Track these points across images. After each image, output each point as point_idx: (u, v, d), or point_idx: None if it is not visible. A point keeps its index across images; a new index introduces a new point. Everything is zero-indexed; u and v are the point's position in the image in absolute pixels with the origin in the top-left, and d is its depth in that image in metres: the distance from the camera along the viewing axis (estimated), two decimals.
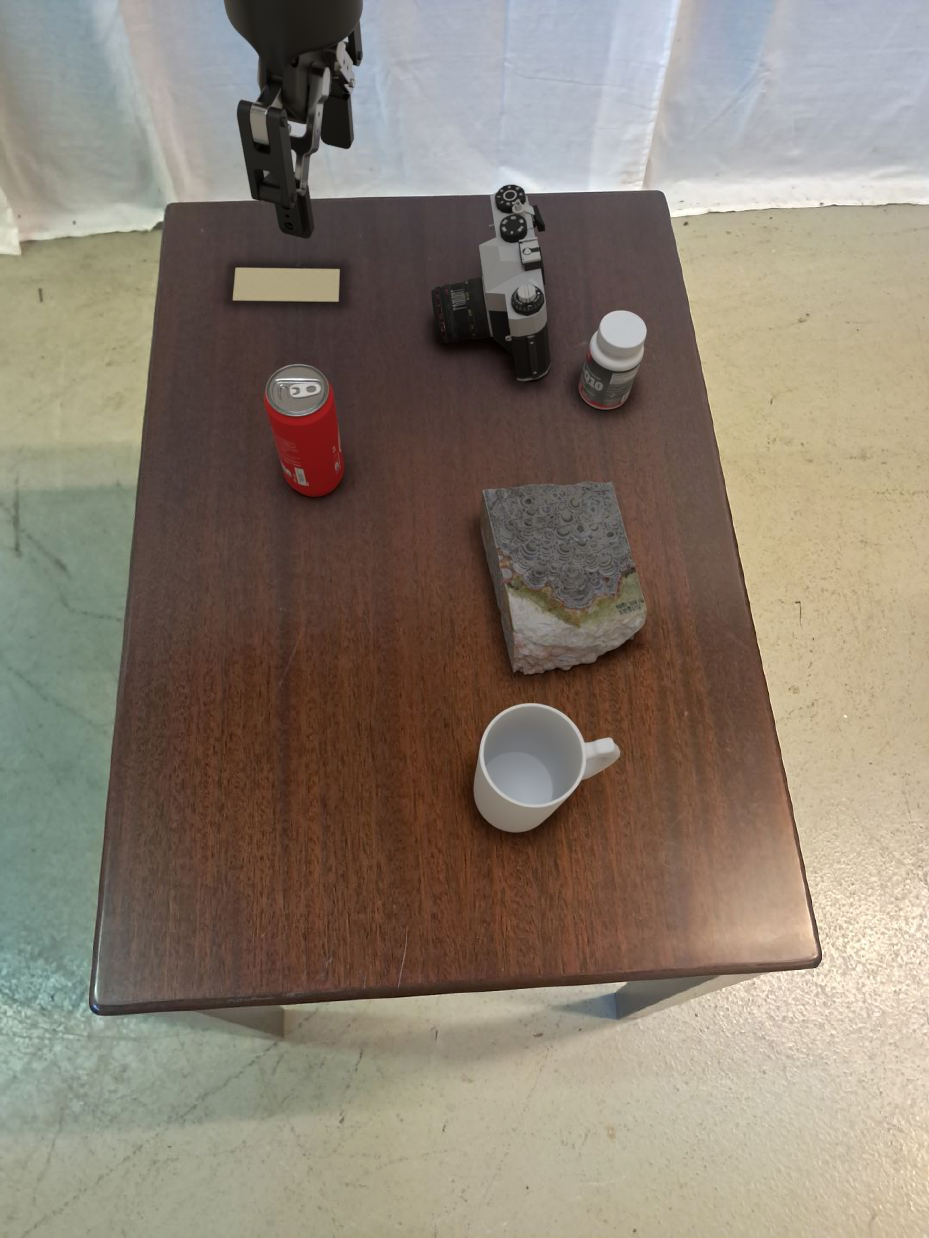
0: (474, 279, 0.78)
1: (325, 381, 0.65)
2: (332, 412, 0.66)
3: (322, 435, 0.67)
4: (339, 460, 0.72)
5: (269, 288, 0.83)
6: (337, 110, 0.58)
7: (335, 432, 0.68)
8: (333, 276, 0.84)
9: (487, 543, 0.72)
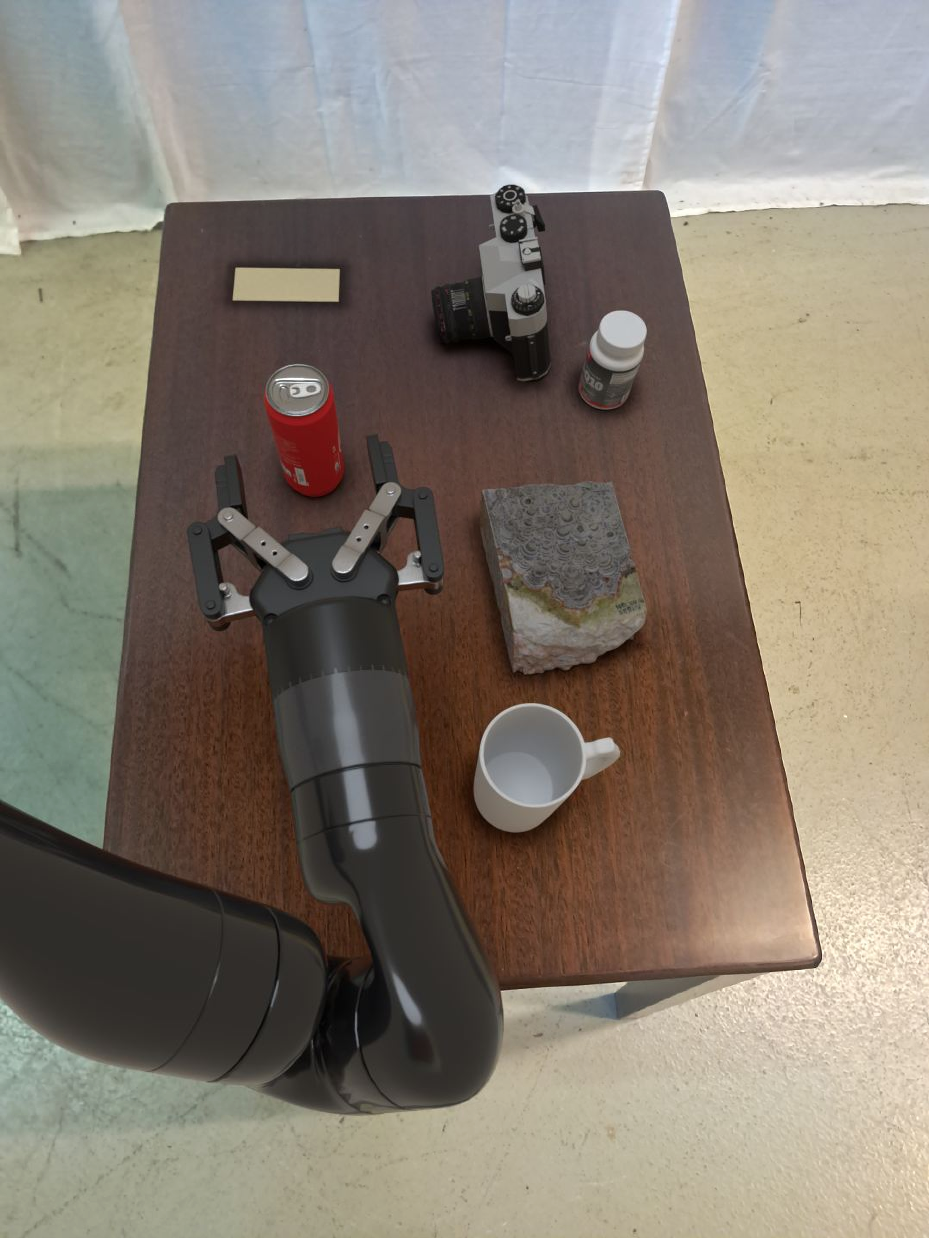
0: (474, 279, 0.78)
1: (325, 381, 0.65)
2: (332, 412, 0.66)
3: (322, 435, 0.67)
4: (339, 460, 0.72)
5: (269, 288, 0.83)
6: (374, 484, 0.53)
7: (335, 432, 0.68)
8: (333, 276, 0.84)
9: (487, 543, 0.72)
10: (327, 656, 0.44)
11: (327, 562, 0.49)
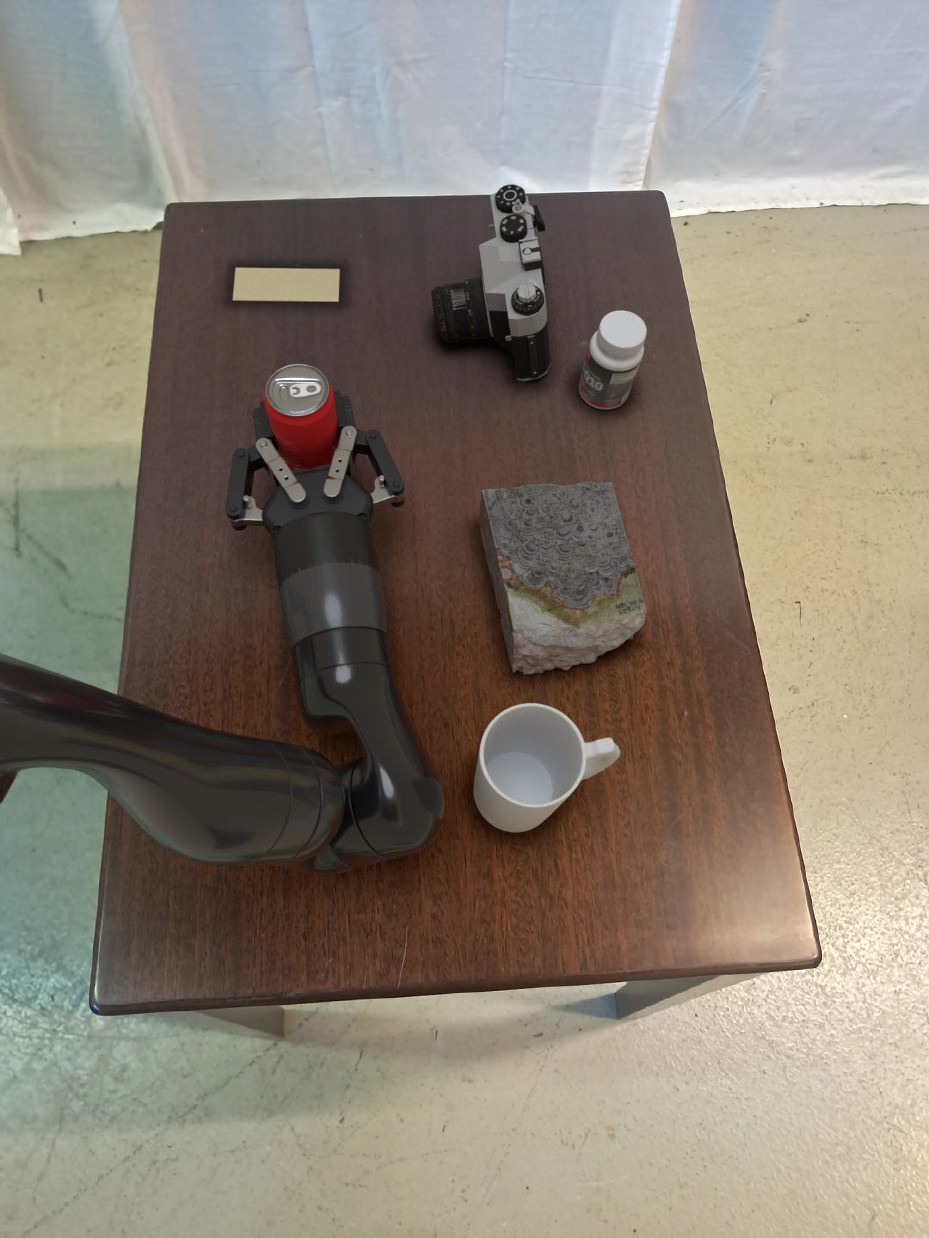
0: (474, 279, 0.78)
1: (325, 381, 0.65)
2: (332, 412, 0.66)
3: (322, 435, 0.67)
4: None
5: (269, 288, 0.83)
6: None
7: (335, 432, 0.68)
8: (333, 276, 0.84)
9: (487, 543, 0.72)
10: (319, 552, 0.61)
11: (319, 489, 0.66)
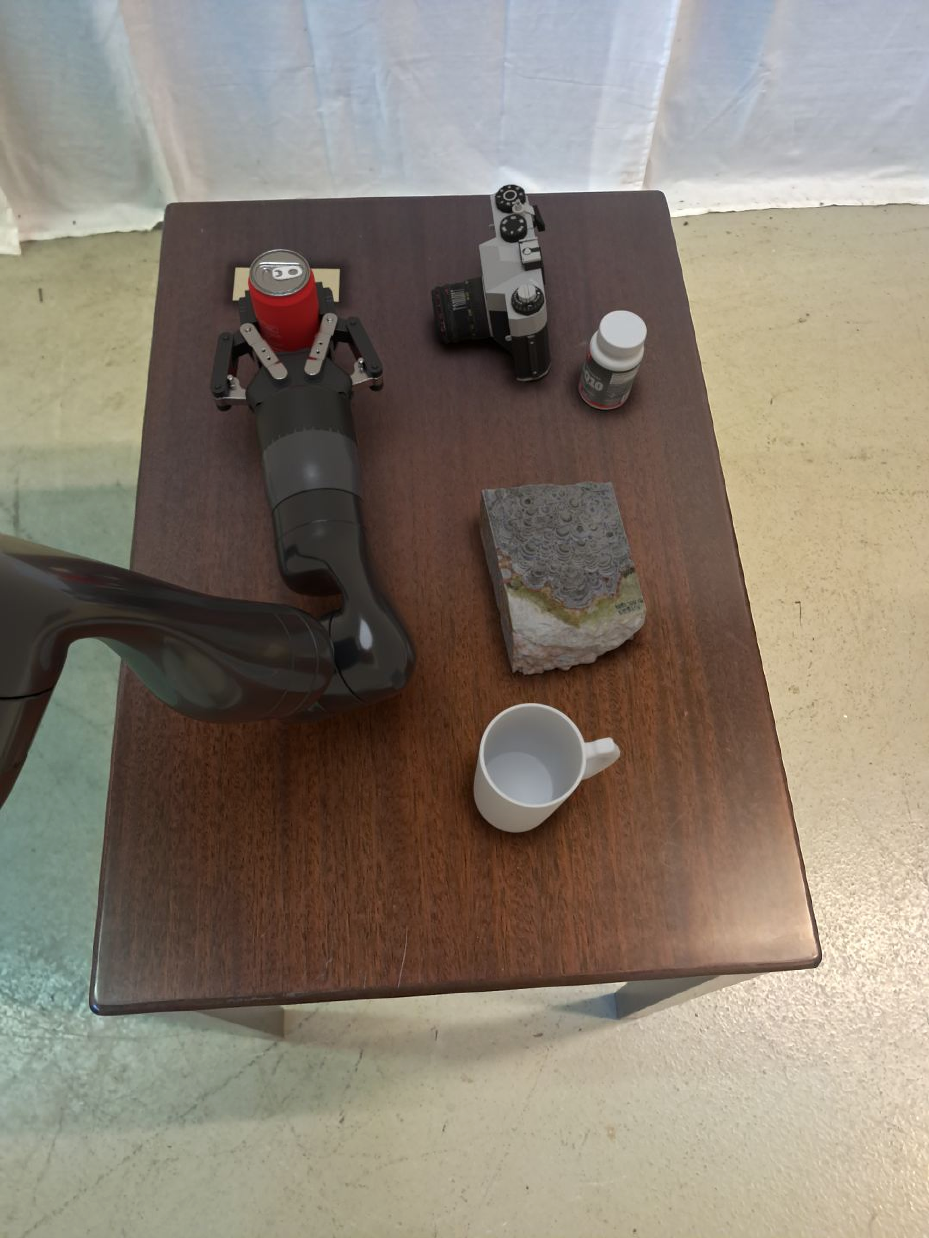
0: (474, 279, 0.78)
1: (306, 265, 0.68)
2: (313, 296, 0.69)
3: (304, 320, 0.69)
4: None
5: None
6: None
7: (317, 320, 0.71)
8: (333, 276, 0.84)
9: (486, 543, 0.72)
10: (298, 420, 0.64)
11: (301, 370, 0.69)
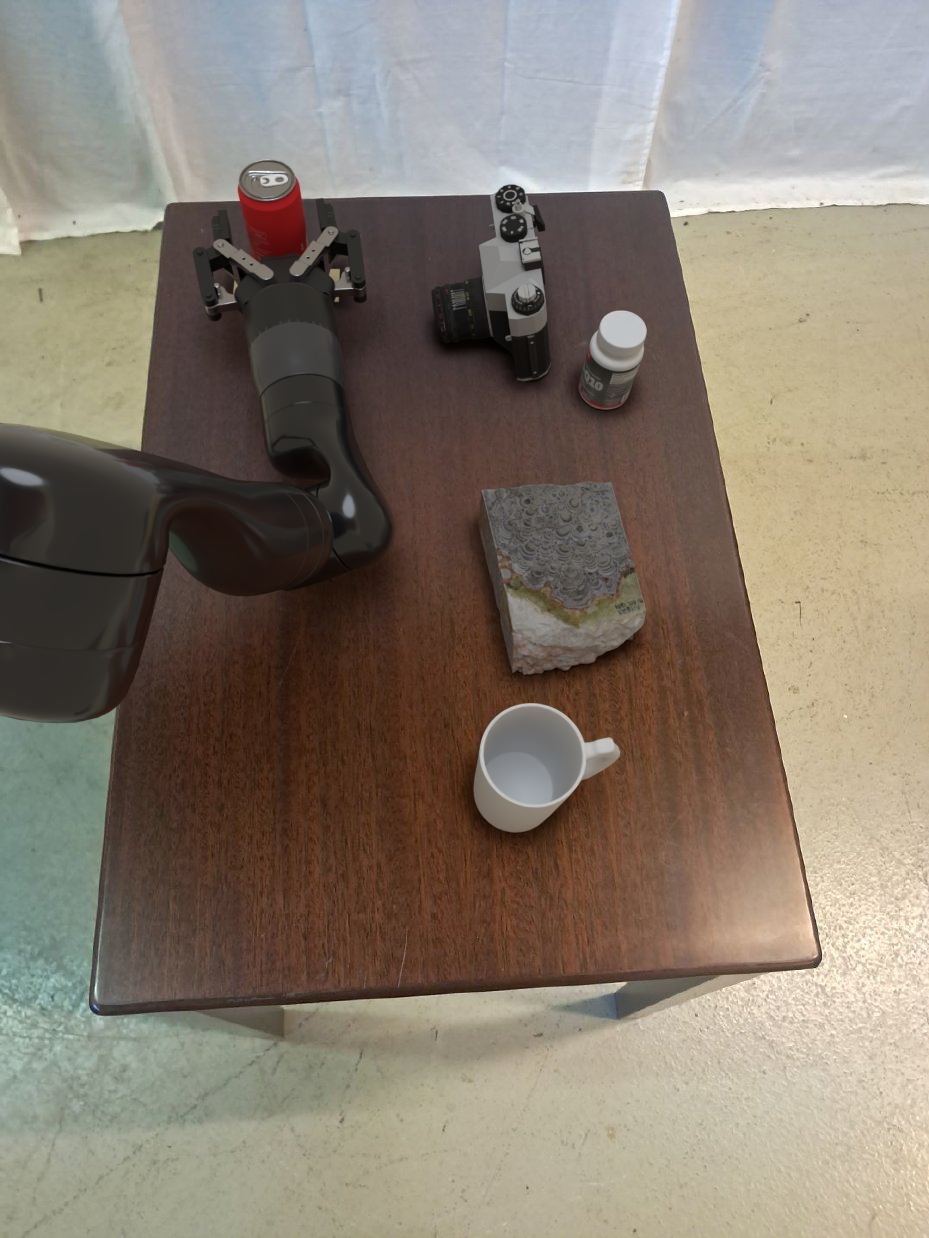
0: (474, 279, 0.78)
1: (292, 173, 0.73)
2: (299, 204, 0.74)
3: (290, 227, 0.74)
4: None
5: None
6: (321, 233, 0.77)
7: (302, 228, 0.76)
8: (333, 276, 0.84)
9: (486, 543, 0.72)
10: (283, 313, 0.68)
11: (286, 272, 0.73)
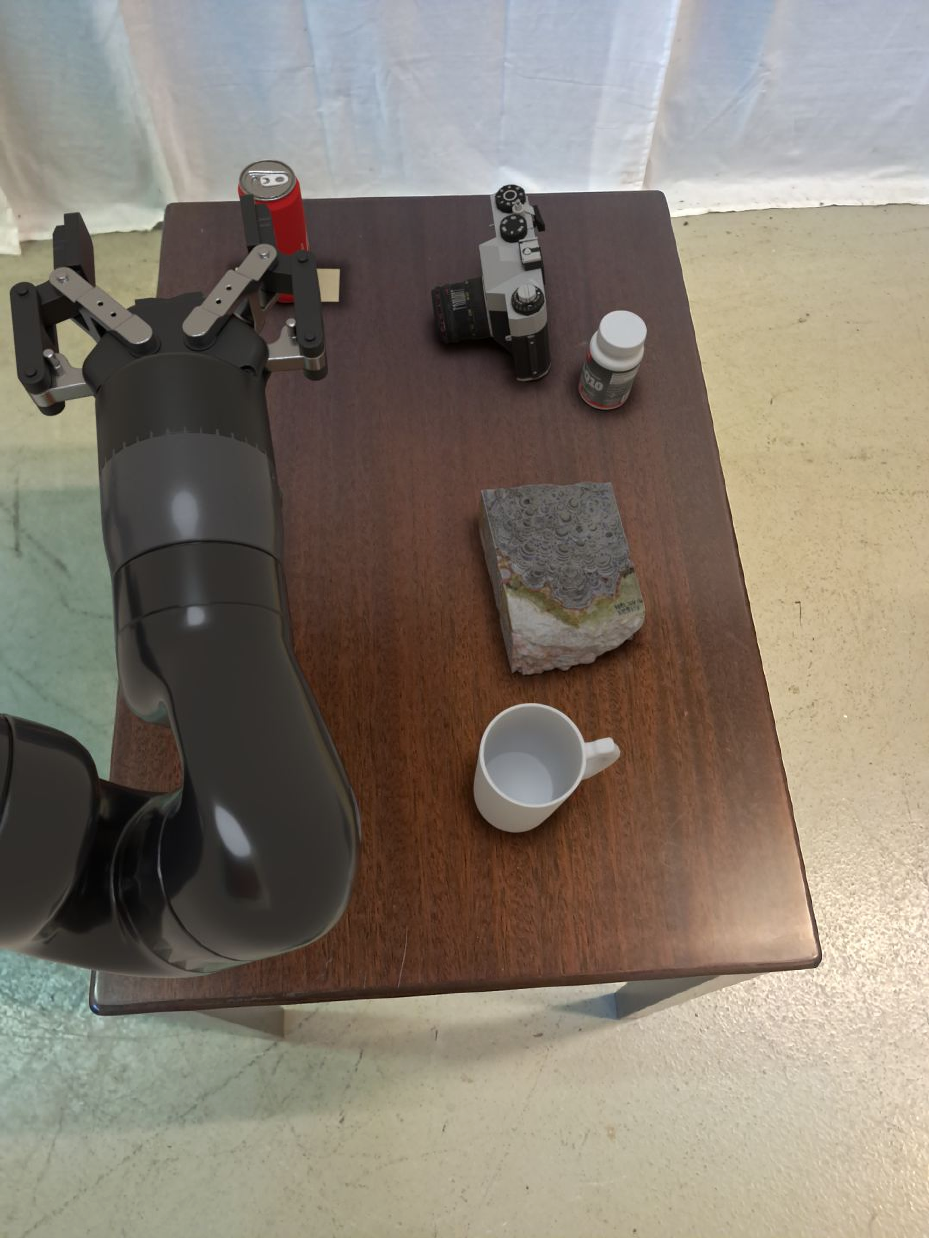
0: (474, 279, 0.78)
1: (292, 173, 0.73)
2: (299, 204, 0.74)
3: (291, 226, 0.74)
4: None
5: None
6: None
7: (303, 228, 0.76)
8: (333, 276, 0.84)
9: (486, 543, 0.72)
10: (159, 415, 0.35)
11: (179, 329, 0.40)
